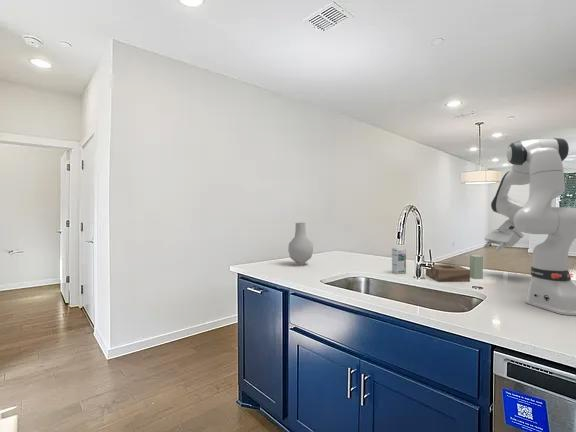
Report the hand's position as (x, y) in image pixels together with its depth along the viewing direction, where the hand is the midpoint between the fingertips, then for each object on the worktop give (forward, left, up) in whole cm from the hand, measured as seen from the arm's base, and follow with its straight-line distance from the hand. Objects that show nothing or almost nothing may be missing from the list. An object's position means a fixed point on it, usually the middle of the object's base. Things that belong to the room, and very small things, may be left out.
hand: (490, 248), depth 178 cm
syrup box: (+15, +45, -16) cm, 50 cm away
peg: (0, +8, -16) cm, 18 cm away
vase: (+44, +101, -16) cm, 111 cm away
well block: (0, +24, -16) cm, 28 cm away
